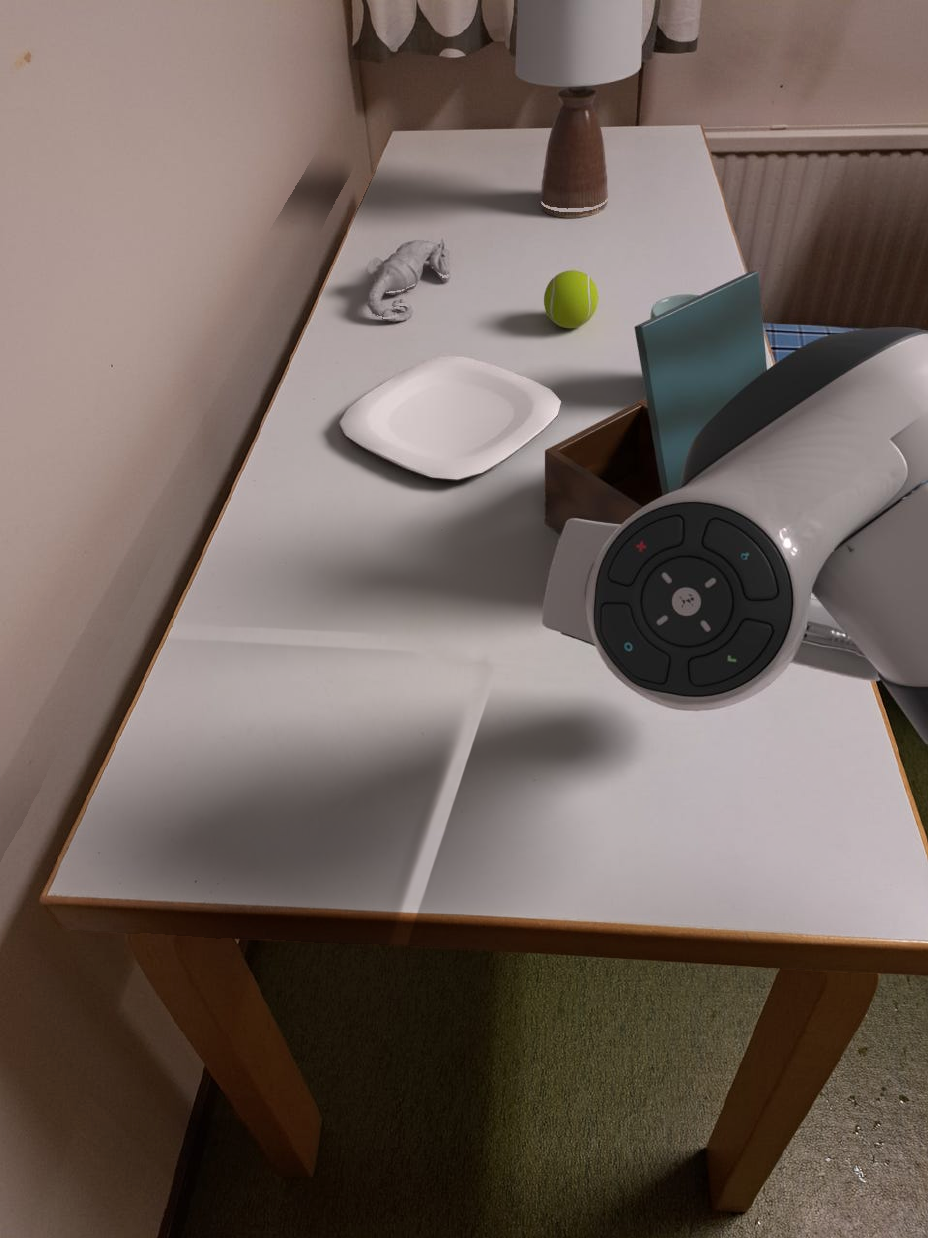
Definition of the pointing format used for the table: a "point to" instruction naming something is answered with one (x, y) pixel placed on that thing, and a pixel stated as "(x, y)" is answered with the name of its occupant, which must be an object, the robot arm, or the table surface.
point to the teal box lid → (698, 366)
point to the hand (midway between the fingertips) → (715, 611)
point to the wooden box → (603, 470)
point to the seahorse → (404, 274)
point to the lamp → (577, 86)
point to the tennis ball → (571, 299)
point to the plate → (450, 417)
